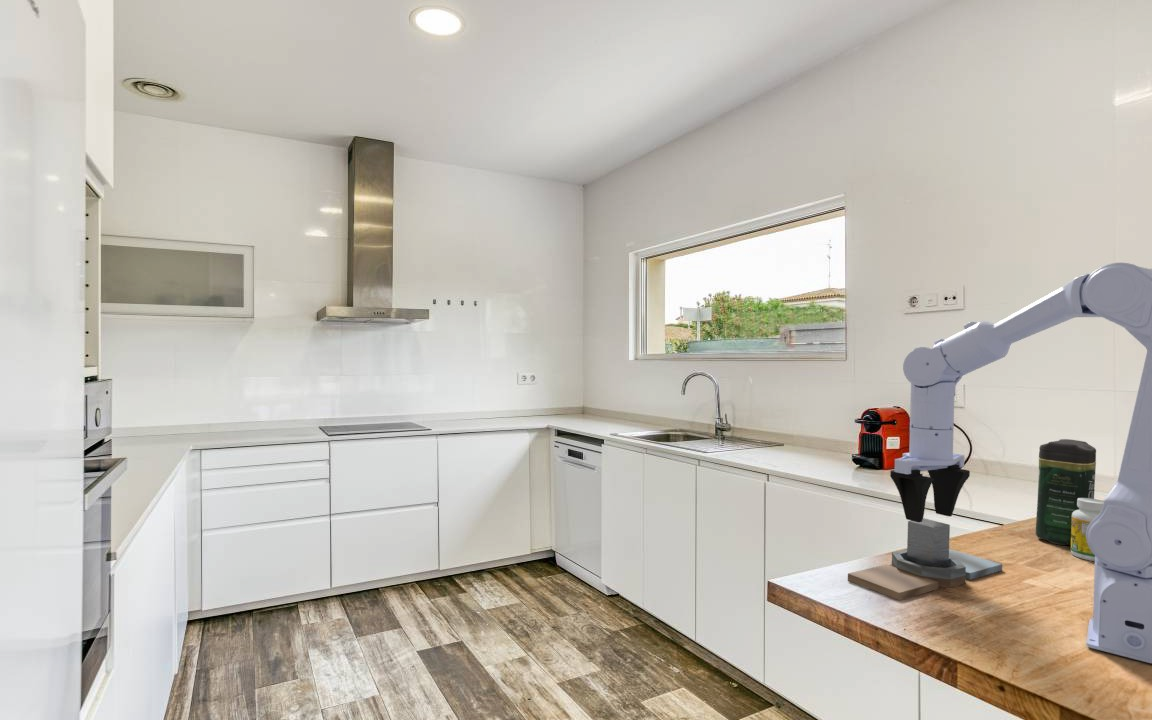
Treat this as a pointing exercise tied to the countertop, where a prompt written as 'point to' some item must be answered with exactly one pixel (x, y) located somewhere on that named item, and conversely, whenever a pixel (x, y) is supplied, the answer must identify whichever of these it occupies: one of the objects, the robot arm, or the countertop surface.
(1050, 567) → the countertop surface
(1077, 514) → the supplement bottle
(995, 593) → the countertop surface
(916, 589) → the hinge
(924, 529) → the grey metal brick
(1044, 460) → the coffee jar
